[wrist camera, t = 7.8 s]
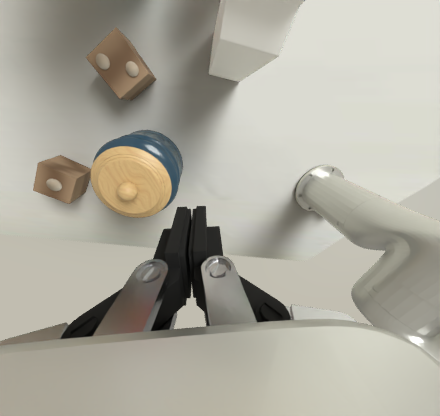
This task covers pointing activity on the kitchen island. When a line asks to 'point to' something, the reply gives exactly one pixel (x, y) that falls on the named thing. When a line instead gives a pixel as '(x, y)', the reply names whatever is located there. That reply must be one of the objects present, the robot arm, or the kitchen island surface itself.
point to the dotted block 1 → (61, 179)
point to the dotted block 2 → (121, 66)
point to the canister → (137, 173)
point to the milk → (249, 35)
